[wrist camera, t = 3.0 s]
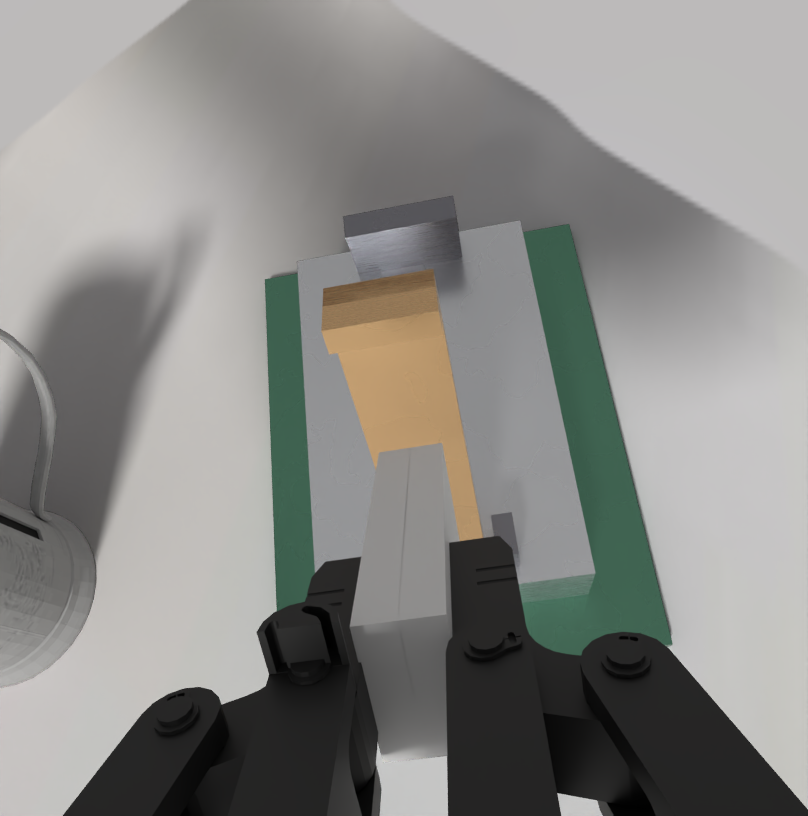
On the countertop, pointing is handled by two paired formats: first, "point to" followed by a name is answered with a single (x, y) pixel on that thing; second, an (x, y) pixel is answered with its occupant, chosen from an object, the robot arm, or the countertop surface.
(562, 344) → the green base fixture
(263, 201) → the countertop surface
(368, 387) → the tan rectangular bar
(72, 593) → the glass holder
